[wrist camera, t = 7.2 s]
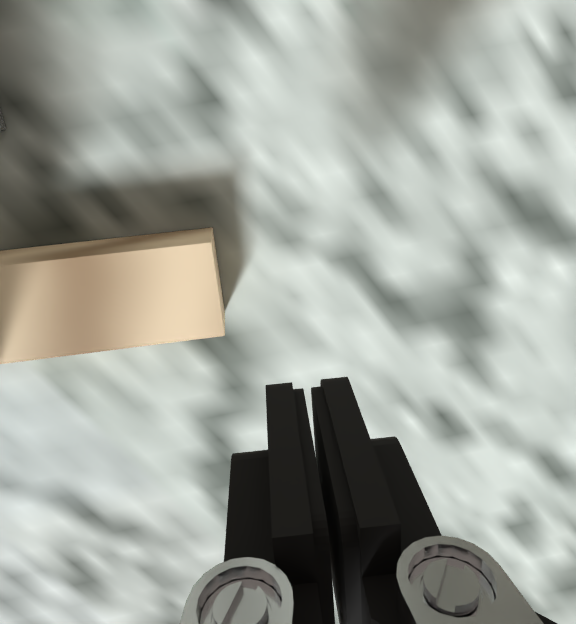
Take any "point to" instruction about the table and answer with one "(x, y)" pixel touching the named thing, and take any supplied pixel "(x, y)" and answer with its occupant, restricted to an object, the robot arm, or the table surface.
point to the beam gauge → (109, 295)
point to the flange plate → (2, 122)
